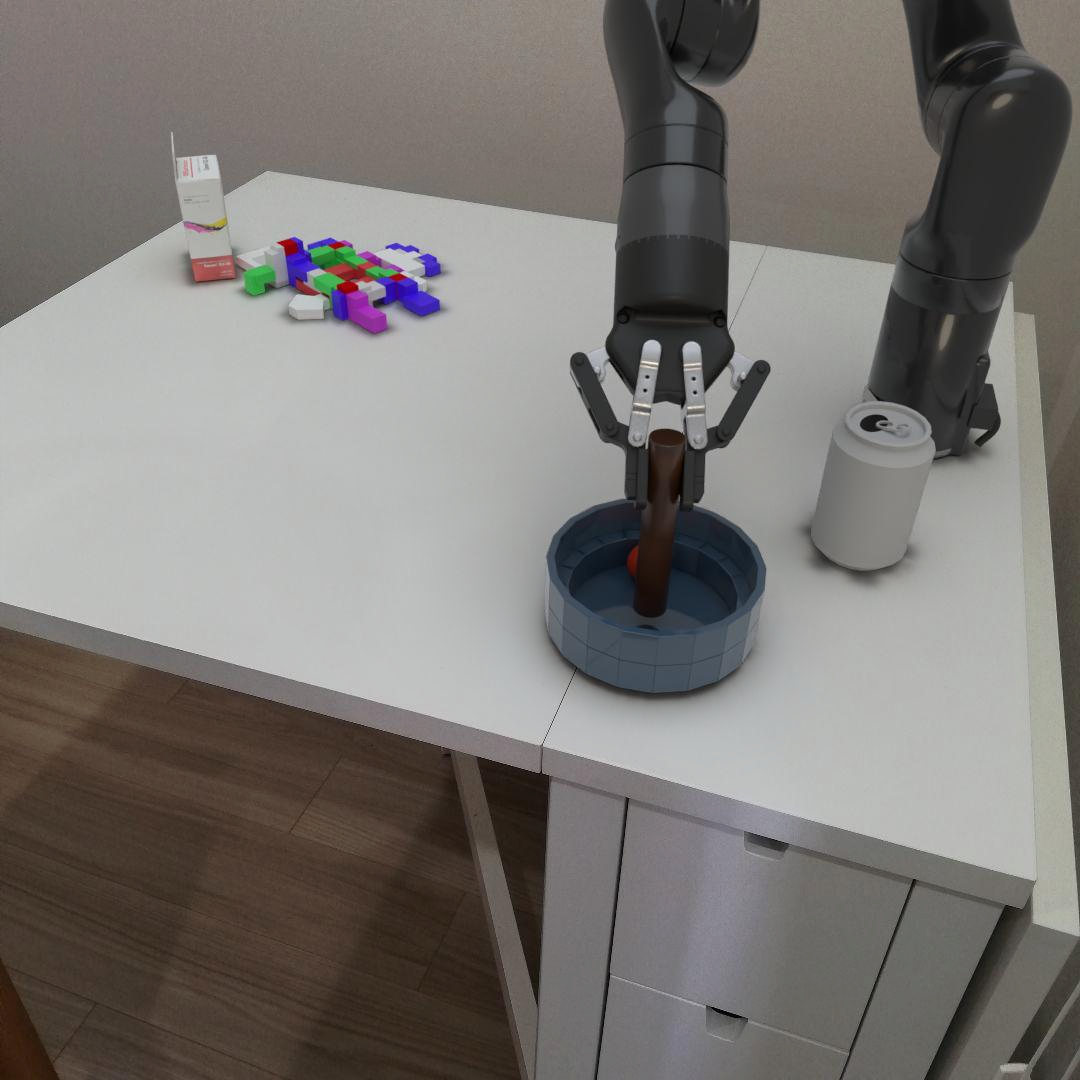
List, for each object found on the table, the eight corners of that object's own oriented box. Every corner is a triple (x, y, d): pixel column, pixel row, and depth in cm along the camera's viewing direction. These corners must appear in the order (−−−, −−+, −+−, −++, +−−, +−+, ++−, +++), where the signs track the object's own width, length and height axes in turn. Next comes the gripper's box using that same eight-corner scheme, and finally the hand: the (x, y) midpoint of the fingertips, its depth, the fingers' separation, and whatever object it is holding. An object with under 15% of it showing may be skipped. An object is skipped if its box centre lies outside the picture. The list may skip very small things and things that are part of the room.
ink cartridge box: (238, 278, 123) (217, 150, 114) (194, 283, 122) (169, 154, 113) (232, 250, 129) (211, 126, 120) (190, 254, 128) (166, 129, 119)
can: (835, 508, 89) (864, 384, 82) (919, 544, 86) (957, 417, 78) (791, 550, 85) (818, 422, 77) (878, 590, 81) (915, 460, 74)
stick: (667, 600, 77) (688, 430, 68) (664, 620, 75) (684, 448, 67) (635, 595, 77) (651, 425, 69) (630, 615, 75) (646, 443, 67)
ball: (672, 579, 80) (675, 543, 79) (652, 593, 78) (655, 556, 77) (638, 569, 82) (641, 533, 81) (618, 582, 80) (620, 546, 79)
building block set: (487, 291, 121) (486, 253, 119) (338, 347, 110) (334, 308, 107) (358, 227, 135) (355, 193, 133) (215, 272, 124) (208, 235, 121)
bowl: (759, 575, 82) (771, 513, 78) (746, 718, 70) (759, 653, 67) (567, 546, 85) (570, 485, 81) (524, 679, 73) (525, 615, 69)
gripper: (568, 225, 67) (556, 495, 65) (788, 234, 67) (783, 505, 65) (567, 270, 74) (556, 512, 72) (765, 277, 74) (760, 521, 72)
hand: (663, 507), depth 69 cm, fingers closed on stick, 2 cm apart
